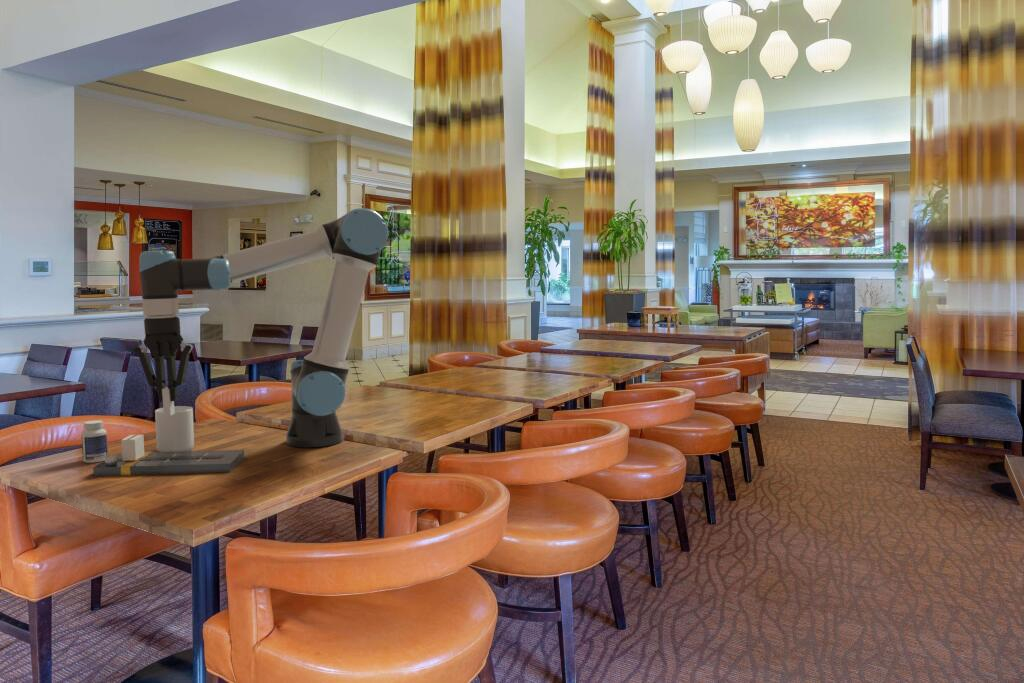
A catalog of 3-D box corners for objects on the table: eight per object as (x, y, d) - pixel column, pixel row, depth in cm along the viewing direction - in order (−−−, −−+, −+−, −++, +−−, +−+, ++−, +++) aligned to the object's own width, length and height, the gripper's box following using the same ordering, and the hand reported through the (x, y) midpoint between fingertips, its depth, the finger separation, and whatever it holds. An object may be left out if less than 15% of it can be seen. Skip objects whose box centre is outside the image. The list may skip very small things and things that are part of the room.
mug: (194, 453, 178) (192, 411, 177) (155, 456, 174) (153, 413, 173) (195, 442, 189) (193, 403, 188) (158, 446, 185) (157, 405, 184)
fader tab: (144, 454, 167) (143, 434, 166) (135, 460, 162) (134, 439, 161) (131, 455, 166) (130, 434, 166) (122, 460, 161) (121, 439, 161)
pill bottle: (112, 459, 172) (110, 420, 171) (92, 464, 167) (89, 425, 166) (98, 456, 174) (96, 418, 173) (77, 461, 169) (75, 422, 168)
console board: (244, 457, 174) (243, 442, 173) (230, 472, 161) (229, 455, 160) (118, 461, 170) (117, 445, 170) (93, 476, 157) (92, 459, 157)
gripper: (195, 314, 166) (202, 410, 169) (138, 316, 165) (146, 413, 167) (185, 316, 159) (192, 416, 161) (125, 318, 157) (134, 419, 160)
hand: (169, 414), depth 164 cm, fingers closed
